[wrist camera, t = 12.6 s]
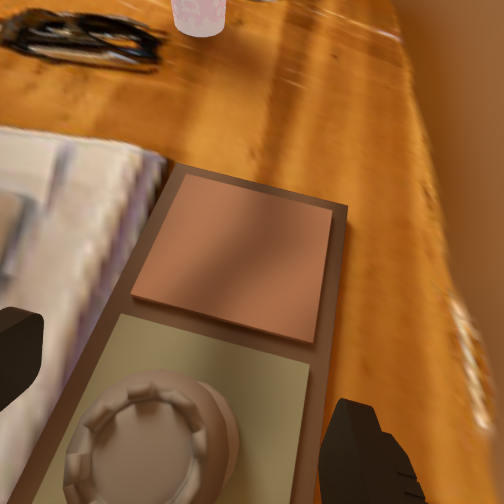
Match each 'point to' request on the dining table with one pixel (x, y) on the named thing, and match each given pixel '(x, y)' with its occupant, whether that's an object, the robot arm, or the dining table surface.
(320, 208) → the tile board
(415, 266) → the dining table surface
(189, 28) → the beverage cup
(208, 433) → the rook chess piece
